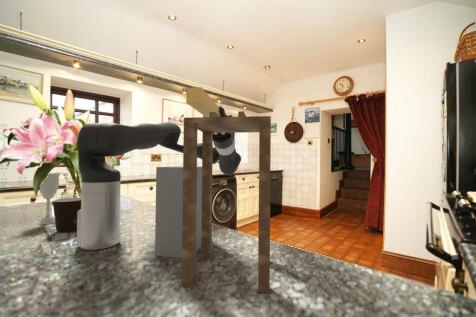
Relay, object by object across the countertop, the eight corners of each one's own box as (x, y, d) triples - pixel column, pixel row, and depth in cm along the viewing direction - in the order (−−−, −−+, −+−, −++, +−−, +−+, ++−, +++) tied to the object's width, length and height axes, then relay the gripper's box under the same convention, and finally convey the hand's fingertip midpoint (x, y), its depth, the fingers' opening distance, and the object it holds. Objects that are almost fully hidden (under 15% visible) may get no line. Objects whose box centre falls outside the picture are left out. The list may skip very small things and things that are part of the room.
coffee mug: (67, 234, 71) (68, 202, 72) (44, 232, 73) (45, 201, 73) (97, 224, 83) (97, 196, 83) (77, 223, 85) (77, 195, 85)
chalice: (63, 222, 86) (64, 173, 86) (40, 226, 80) (41, 174, 81) (54, 219, 90) (55, 173, 90) (32, 223, 84) (33, 173, 84)
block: (154, 256, 56) (156, 167, 56) (177, 237, 70) (178, 166, 70) (190, 258, 55) (191, 167, 55) (206, 239, 68) (207, 166, 69)
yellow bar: (186, 102, 53) (186, 87, 54) (211, 121, 75) (211, 110, 75) (200, 102, 53) (201, 87, 53) (222, 121, 75) (222, 110, 75)
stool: (181, 286, 42) (183, 112, 43) (203, 255, 56) (205, 124, 57) (269, 293, 40) (270, 110, 41) (269, 260, 54) (270, 123, 55)
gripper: (206, 133, 89) (193, 100, 74) (243, 132, 86) (237, 98, 72) (203, 149, 85) (189, 118, 70) (241, 149, 83) (235, 117, 68)
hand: (213, 108), depth 71 cm, fingers closed on yellow bar, 3 cm apart
